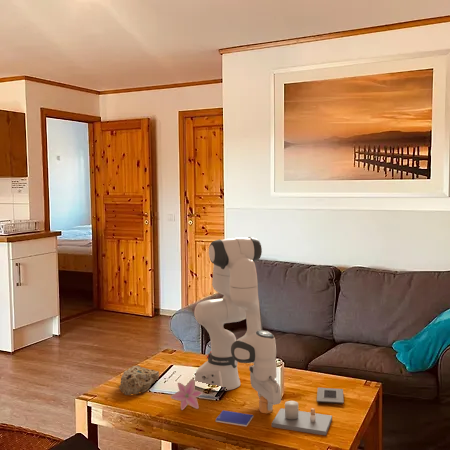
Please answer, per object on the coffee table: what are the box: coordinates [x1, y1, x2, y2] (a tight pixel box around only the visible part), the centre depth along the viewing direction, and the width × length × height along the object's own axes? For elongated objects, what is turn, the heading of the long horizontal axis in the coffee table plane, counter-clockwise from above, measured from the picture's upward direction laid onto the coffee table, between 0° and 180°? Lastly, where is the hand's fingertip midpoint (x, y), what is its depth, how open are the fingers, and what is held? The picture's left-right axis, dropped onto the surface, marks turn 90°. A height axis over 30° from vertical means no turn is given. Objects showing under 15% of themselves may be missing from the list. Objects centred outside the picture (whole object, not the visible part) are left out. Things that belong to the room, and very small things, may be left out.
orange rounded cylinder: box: [258, 396, 274, 414], centre depth 207 cm, size 5×5×5 cm
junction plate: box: [271, 400, 333, 436], centre depth 196 cm, size 20×13×7 cm, turn 69°
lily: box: [170, 378, 203, 411], centre depth 214 cm, size 12×12×10 cm
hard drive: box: [215, 410, 254, 427], centre depth 201 cm, size 2×8×12 cm
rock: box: [119, 364, 160, 396], centre depth 234 cm, size 21×14×10 cm
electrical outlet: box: [316, 387, 345, 405], centre depth 217 cm, size 13×10×2 cm
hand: (265, 406), depth 207 cm, fingers closed on orange rounded cylinder, 5 cm apart
